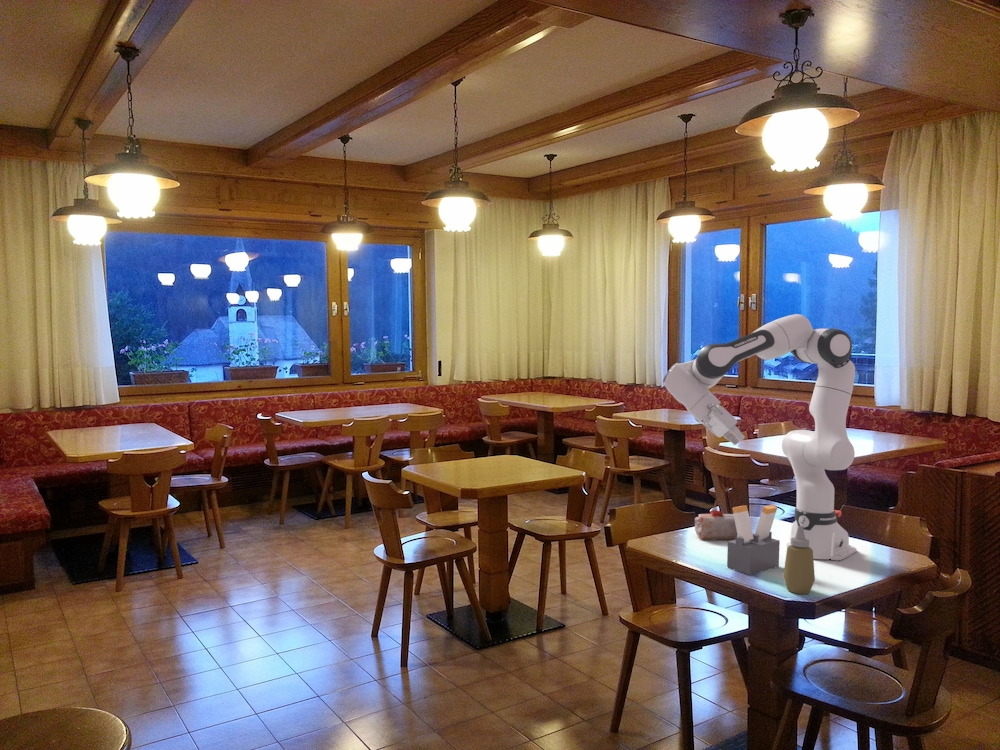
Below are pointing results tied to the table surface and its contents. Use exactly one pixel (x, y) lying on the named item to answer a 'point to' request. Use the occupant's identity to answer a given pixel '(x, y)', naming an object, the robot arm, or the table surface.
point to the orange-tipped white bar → (765, 521)
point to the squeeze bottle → (799, 564)
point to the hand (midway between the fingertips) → (740, 441)
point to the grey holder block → (753, 554)
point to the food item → (715, 526)
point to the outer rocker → (742, 522)
